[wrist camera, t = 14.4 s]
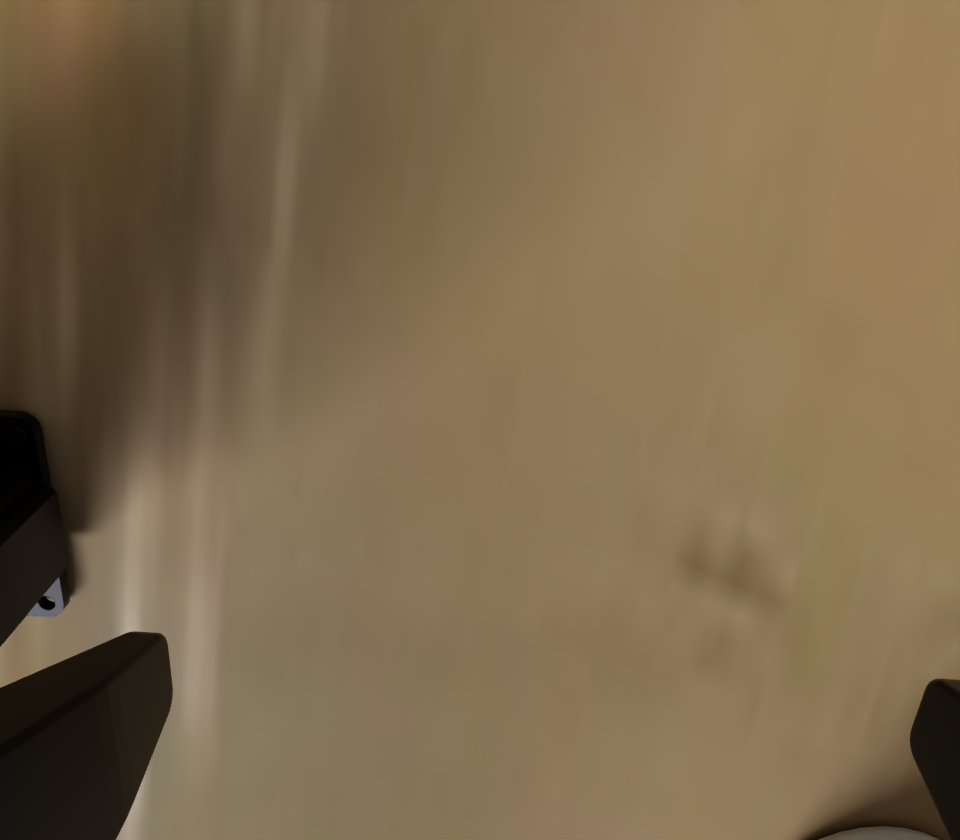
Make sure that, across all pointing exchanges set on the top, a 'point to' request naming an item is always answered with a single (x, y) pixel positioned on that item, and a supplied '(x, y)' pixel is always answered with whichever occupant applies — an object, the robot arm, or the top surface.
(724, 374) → the top surface
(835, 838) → the milk bottle
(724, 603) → the top surface
